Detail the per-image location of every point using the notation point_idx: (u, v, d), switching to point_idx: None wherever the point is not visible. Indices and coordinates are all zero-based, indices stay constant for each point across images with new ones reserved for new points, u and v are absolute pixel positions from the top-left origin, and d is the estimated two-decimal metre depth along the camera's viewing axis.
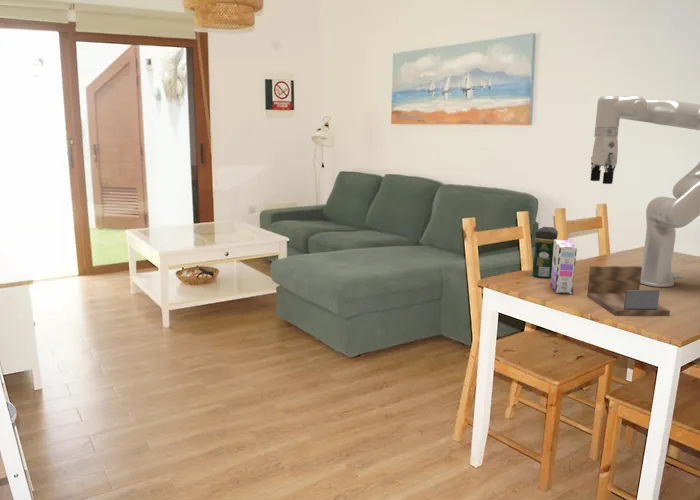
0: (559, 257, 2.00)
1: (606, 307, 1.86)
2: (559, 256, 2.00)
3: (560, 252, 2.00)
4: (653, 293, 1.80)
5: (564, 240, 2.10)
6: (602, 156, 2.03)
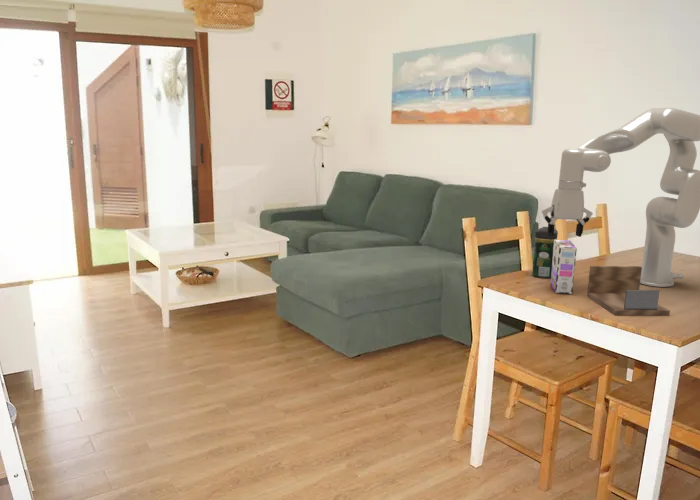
0: (559, 257, 2.00)
1: (606, 307, 1.86)
2: (559, 256, 2.00)
3: (560, 252, 2.00)
4: (653, 293, 1.80)
5: (564, 240, 2.10)
6: (580, 210, 2.00)
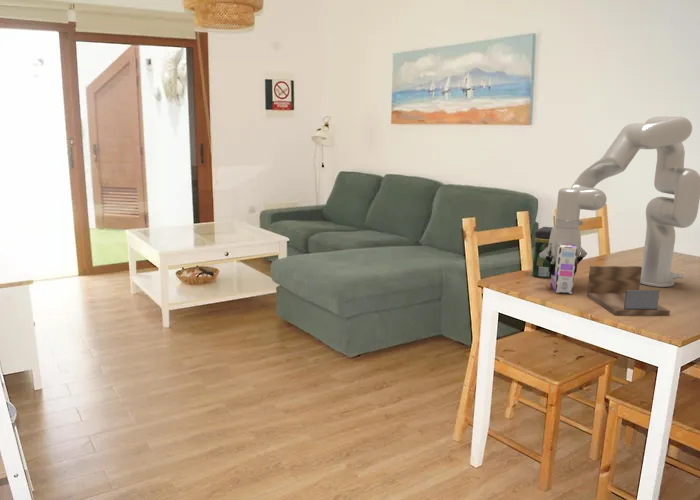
0: (559, 257, 2.00)
1: (606, 307, 1.86)
2: (559, 256, 2.00)
3: (560, 252, 1.99)
4: (653, 293, 1.80)
5: None
6: (577, 248, 2.03)
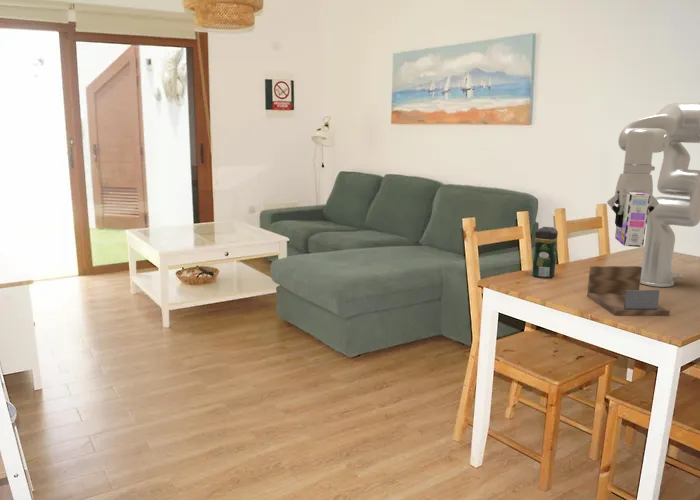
0: (629, 205, 1.79)
1: (606, 307, 1.86)
2: (629, 204, 1.79)
3: (631, 199, 1.79)
4: (653, 293, 1.80)
5: None
6: None
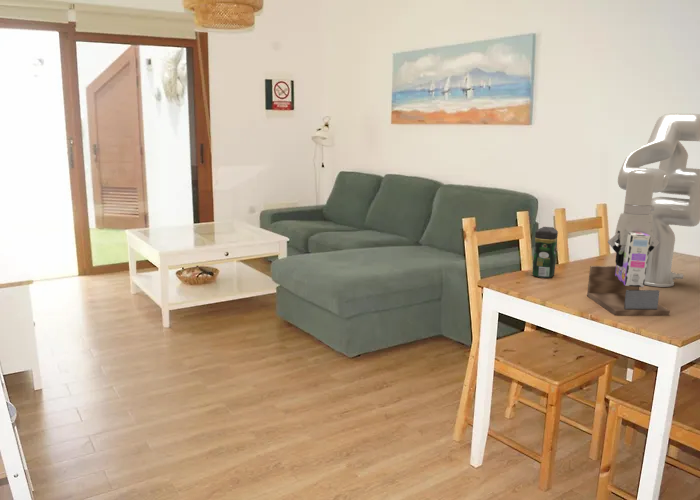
0: (630, 246, 1.80)
1: (606, 307, 1.86)
2: (630, 245, 1.80)
3: (632, 240, 1.80)
4: (653, 293, 1.80)
5: None
6: None
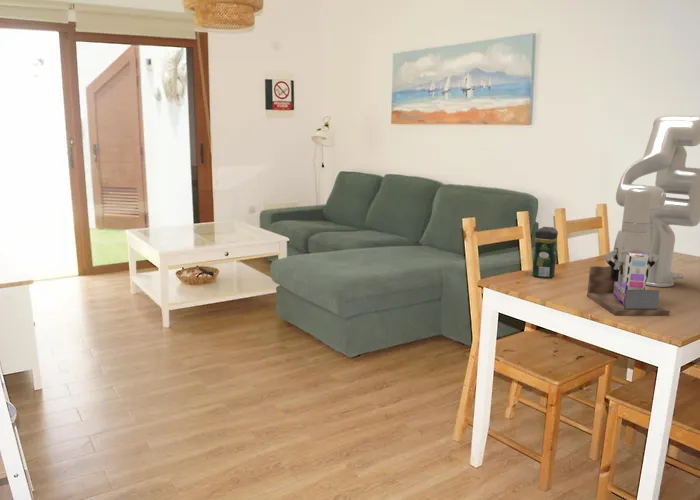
0: (629, 266, 1.82)
1: (606, 307, 1.86)
2: (629, 265, 1.82)
3: (630, 261, 1.81)
4: (653, 293, 1.80)
5: None
6: (647, 253, 1.85)
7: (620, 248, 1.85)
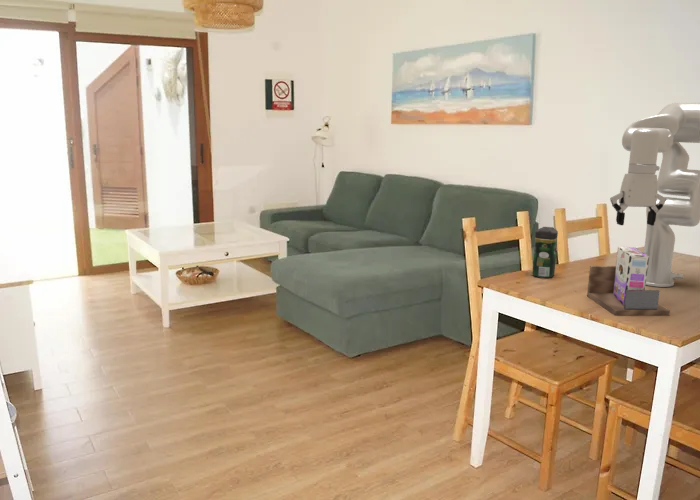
0: (629, 266, 1.82)
1: (606, 307, 1.86)
2: (629, 265, 1.82)
3: (630, 261, 1.81)
4: (653, 293, 1.80)
5: (629, 247, 1.92)
6: (654, 196, 1.81)
7: (626, 191, 1.81)
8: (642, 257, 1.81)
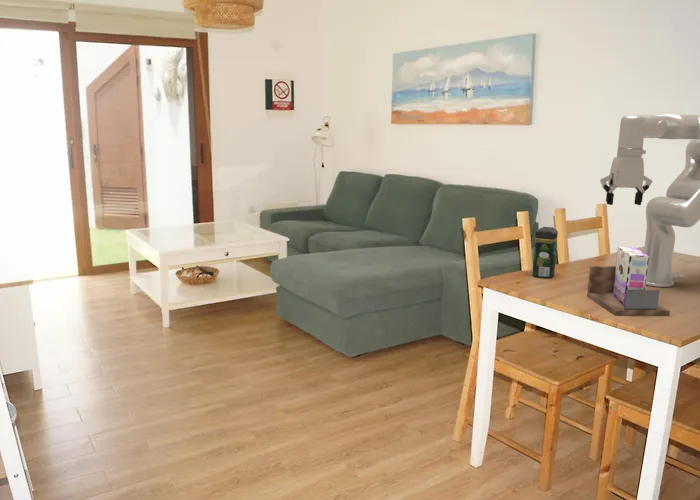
0: (629, 266, 1.82)
1: (606, 307, 1.86)
2: (629, 265, 1.82)
3: (630, 261, 1.81)
4: (653, 293, 1.80)
5: (629, 247, 1.92)
6: (640, 178, 1.97)
7: (615, 173, 1.97)
8: (642, 257, 1.81)
